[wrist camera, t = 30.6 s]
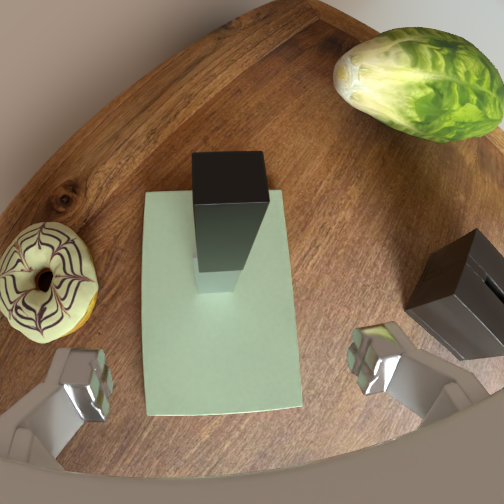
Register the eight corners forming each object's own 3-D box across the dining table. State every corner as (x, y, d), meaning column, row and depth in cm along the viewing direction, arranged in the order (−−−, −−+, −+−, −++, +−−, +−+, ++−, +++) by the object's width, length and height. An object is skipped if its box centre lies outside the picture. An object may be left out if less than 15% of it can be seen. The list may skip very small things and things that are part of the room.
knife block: (459, 360, 29) (511, 354, 21) (403, 310, 30) (453, 294, 22) (482, 304, 32) (529, 288, 24) (431, 253, 33) (476, 227, 25)
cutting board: (299, 404, 26) (303, 406, 25) (149, 413, 24) (146, 415, 23) (278, 195, 32) (281, 189, 31) (147, 197, 30) (145, 191, 29)
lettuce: (299, 79, 38) (332, -16, 24) (436, 90, 44) (480, 30, 29) (341, 169, 34) (407, 69, 20) (479, 161, 39) (540, 105, 25)
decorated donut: (54, 365, 24) (35, 365, 20) (-4, 286, 25) (-24, 276, 21) (124, 285, 27) (113, 274, 24) (59, 213, 28) (44, 196, 25)
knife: (234, 301, 27) (280, 202, 10) (198, 304, 26) (182, 205, 10) (232, 278, 28) (272, 150, 11) (196, 280, 27) (182, 152, 10)
